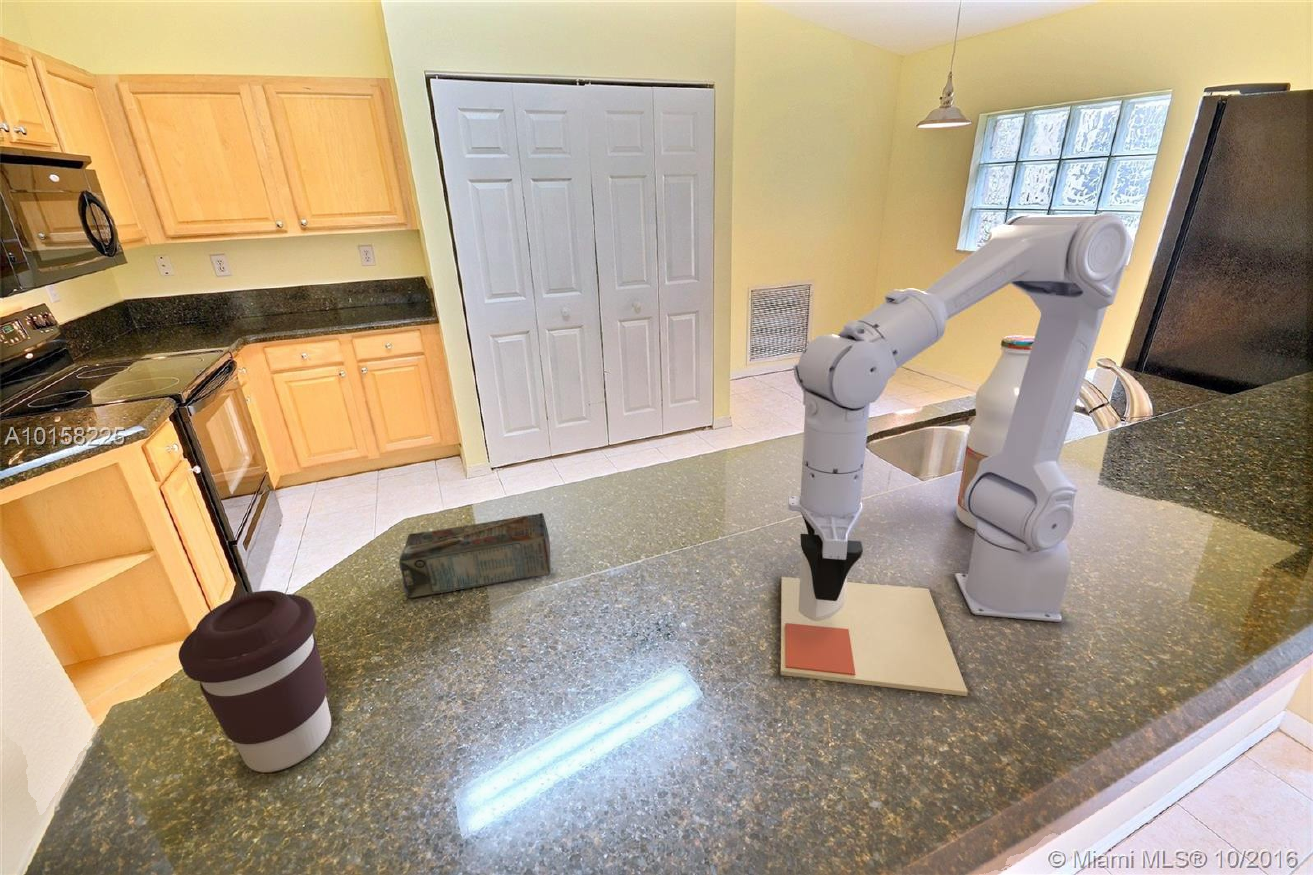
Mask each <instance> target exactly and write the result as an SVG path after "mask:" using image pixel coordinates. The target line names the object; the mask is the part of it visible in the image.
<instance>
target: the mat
mask: <svg viewBox="0 0 1313 875" xmlns="http://www.w3.org/2000/svg"><path fill="white" fill-rule="evenodd" d="M780 579H781V580H780V581H781V582H780V584H781V585H780V589H781V590H780V592H781V593H780V675H781V676H787V677H793V678H794V677H796V678H803V679H812V680H822V681H831V682H839V683H847V684H857V685H864V686H872V687H873V686H874V687H883V688H890V689H891V688H892V689H899V690H908V691H917V692H918V691H919V692H924V693H925V692H926V693H934V694H935V693H937V694H944V695H951V696H953V695H954V696H959V697H960V696H961V697H968V693H969V692H968V689H967V686H966V683H965V680H964V678H963V676H962V674H961V671H960V668H959V665H958V663H957V660H956V657H955V655H954V652H953V649H952V646H951V644H950V641H949V639H948V636H947V634H946V631H945V628H944V625H943V623H942V620H941V618H940V616H939V613H938V610H937V607H936V605H935V603H934V600H933V597H932V594H931V591H930V589H929V588H924V587H913V586H912V587H911V586H900V585H888V584H875V583H863V582H851V581H847V584H846V596H845V602H844V604H843V606H842V608H841V609H840V610H839V611H838V612H837V613H836V614H835V615H833V616H831V617H829V618H827V619H824V620H820V621H813V620H811V619H809V618H807V617H806V616H804V615H802V614H801V613H800V612H799V590H800V577H788V576H781V578H780Z"/></svg>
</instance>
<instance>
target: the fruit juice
mask: <svg viewBox="0 0 1313 875" xmlns="http://www.w3.org/2000/svg"><path fill="white" fill-rule="evenodd" d="M1034 338H1035V336H1033V335H1023V334H1022V335H1019V334H1016V335H1015V334H1013V335H1007V336H1003V337H1002V339H1001V343H1000V350H1001V355H1000V357H999V359H998V361H997V362H996V364H995V366H994V368H993V369H992V371H991V373H990V374H989V376H988V377H987V379H986V380H985V381H984V382H983V383H982V384H981V385H980V386H979V387H978V389H977V391H976V393H975V396H974V409H975V417H974V420H973V421H972V422H971V425H970V428H969V430H968V434H967V439H966V446H965V453H964V458H963V464H962V471H961V477H960V483H959V490H958V496H957V502H956V516H957V519H958V520H959V521H960V522H961V523H962V524H964V526H965V525H966V526H967V527H968V528H970V529H973V530H975V531H976V527H975V526H974V525H973V524H971V522H972V516H973V515H971V514H970V513H969V512H968V511H967V510H966V508H965V504H964V497H965V492H966V489H967V487H968V485H969V483H970V482H971V481H972V479H973V478H974V476H975V475H976V473H977V470H978V467H979V463H980V461H981V460H983V459H985V458H987V457H990V456H993V455H995V454H998V453H1001V452H1002V450H1003V447H1004V443H1005V440H1006V436H1007V433H1008V429H1009V426H1010V422H1011V419H1012V415H1013V412H1014V408H1015V405H1016V401H1017V398H1018V394H1019V391H1020V387H1021V384H1022V380H1023V377H1024V373H1025V370H1026V366H1027V363H1028V359H1029V356H1030V352H1031V349H1032V345H1033V342H1034Z"/></svg>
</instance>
